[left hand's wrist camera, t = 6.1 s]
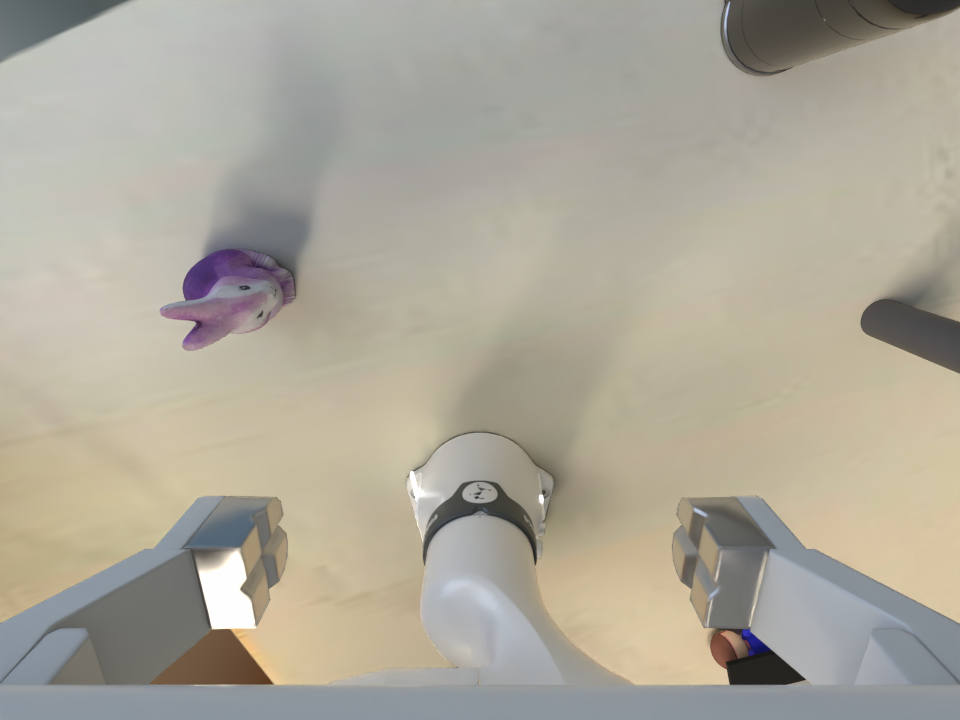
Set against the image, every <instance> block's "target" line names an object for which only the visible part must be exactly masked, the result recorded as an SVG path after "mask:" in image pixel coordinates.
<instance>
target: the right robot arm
mask: <svg viewBox="0 0 960 720" xmlns="http://www.w3.org/2000/svg"><path fill="white" fill-rule="evenodd" d="M725 4H726V5H725V8H724V11H723V16H722V22H721V36H722V42H723V46H724V49H725V51H726V53H727V55H728V57H729V59H730V60H731V61H732V63H733V64H734V65H735V66H736V67H738V68H739V69H740V70H742V71H744V72H746V73H748V74H751V75H756V76H768V75H773V74H777V73H780V72H783V71H785V70H788V69H790V68H792V67H794V66H797V65H800V64H803V63H806V62H809V61H812V60H815V59H818V58H821V57H824V56H827V55H830V54H833V53H836V52H839V51H842V50H845V49H848V48H851V47H854V46H857V45H860V44H863V43H866V42H869V41H872V40H875V39H878V38H881V37H884V36H887V35H890V34H893V33H896V32H899V31H902V30H905V29H908V28H911V27H914V26H917V25H920V24H923V23H926V22H929V21H932V20H935V19H938V18H941V17H943V16H945V15H948V14H950V13H952V12H954V11H956V10H958V9H960V0H725Z"/></svg>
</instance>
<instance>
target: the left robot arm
mask: <svg viewBox="0 0 960 720" xmlns="http://www.w3.org/2000/svg"><path fill="white" fill-rule="evenodd" d="M406 487H407V490H408V494H409V497H410V501H411V504H412V508H413V511H414V514H415V519H416V521H417V525H418V528H419V532H420V535H421V539H422V542H423V561H424V565H425V570H424V577H423V585H422V592H421V599H420V618H421V622H422V626H423V628H424V631H425V633H426V635H427V636H428V638H429V640H430V641H431V643H432V644H433V646H434V647H435V649H436V650H437V651H438V652H439V654H440V655H441V656H442V657H443V658H444V659H446V660H447V661H448V662H450V663H451V664H453V665H454V666H456V668H389V669H384V670H379V671H374V672H369V673H364V674H360V675H356V676H352V677H348V678H344V679H340V680H336V681H332V682H330V683H328V684H327V685H148V684H149V683H150V682H151V681H153V680H154V679H155V678H156V677H157V676H159V675H160V674H161V673H162V672H163V671H164V670H165V669H167V668H168V667H169V666H170V665H171V664H173V663H174V662H175V661H176V660H177V659H178V658H180V657H181V656H182V655H183V654H184V653H185V652H187V651H188V650H189V649H190V648H191V647H193V646H194V645H195V644H196V643H197V642H198V641H200V640H201V639H202V638H203V637H204V636H205V635H207V634H208V633H209V632H210V629H232V628H256V627H257V625H258V623H259V621H260V619H261V617H262V615H263V613H264V611H265V609H266V607H267V605H268V603H269V601H270V595H269V588H271V587H272V586H274V585H275V584H276V583H278V582H279V581H280V578H281V576H282V574H283V572H284V569H285V565H286V560H287V556H288V541H287V534H286V532H285V531H284V530H283V529H282V528H281V527H280V526H279V525H278V524H279V522H280V520H281V518H282V517H283V510H282V505H281V501H280V500H279V499H278V498H277V497H248V496H228V497H227V496H203V497H200V498H198V499H197V500H196V501H195V502H194V503H193V504H192V505H191V507H190V508H189V509H188V510H187V511H186V512H185V514H184V515H183V516H182V517H181V518H180V519H179V520H178V522H177V523H176V524H175V525H174V526H173V527H172V528H171V530H170V531H169V532H168V533H167V534H166V535H165V536H164V538H163V539H162V540H161V541H160V542H159V543H158V544H157V546H156V547H155V548H154V549H145V550H143V551H141V552H139V553H137V554H135V555H133V556H131V557H129V558H127V559H125V560H123V561H121V562H119V563H117V564H115V565H113V566H111V567H109V568H107V569H106V570H104V571H102V572H100V573H98V574H96V575H94V576H92V577H90V578H88V579H86V580H84V581H82V582H80V583H78V584H76V585H74V586H72V587H70V588H68V589H67V590H65V591H63V592H61V593H59V594H57V595H55V596H53V597H51V598H49V599H47V600H45V601H43V602H41V603H39V604H37V605H35V606H33V607H31V608H29V609H27V610H26V611H24V612H22V613H20V614H18V615H16V616H14V617H12V618H10V619H8V620H6V621H4V622H2V623H0V720H960V624H959V623H957V622H956V621H954V620H952V619H950V618H948V617H946V616H944V615H942V614H940V613H938V612H936V611H934V610H932V609H930V608H928V607H926V606H924V605H922V604H920V603H919V602H917V601H915V600H913V599H911V598H909V597H907V596H905V595H903V594H901V593H899V592H897V591H895V590H893V589H891V588H889V587H887V586H885V585H884V584H882V583H880V582H878V581H876V580H874V579H872V578H870V577H868V576H866V575H864V574H862V573H860V572H858V571H856V570H854V569H852V568H850V567H849V566H847V565H845V564H843V563H841V562H839V561H837V560H835V559H833V558H831V557H829V556H827V555H825V554H823V553H821V552H819V551H817V550H815V549H806V548H805V547H804V546H803V544H802V543H801V542H800V541H799V540H798V539H797V538H796V536H795V535H794V534H793V533H792V532H791V531H790V530H789V528H788V527H787V526H786V525H785V524H784V523H783V522H782V520H781V519H780V518H779V517H778V516H777V515H776V514H775V512H774V511H773V510H772V509H771V508H770V507H769V506H768V504H767V503H766V502H765V501H764V500H763V499H762V498H760V497H758V496H732V497H698V498H681V500H680V502H679V504H678V509H677V517H678V518H679V520H680V522H681V524H682V525H681V526H680V527H679V528H678V529H677V530H676V531H675V532H674V534H673V543H672V553H673V562H674V565H675V569H676V572H677V574H678V576H679V578H680V581H681V582H682V583H684V584H685V585H686V586H688V587H689V588H691V595H690V601H691V603H692V605H693V607H694V609H695V611H696V613H697V615H698V617H699V619H700V621H701V623H702V625H703V627H704V628H727V629H750V632H751V633H752V634H754V635H755V636H756V637H757V638H758V639H760V640H761V641H762V642H763V643H764V644H765V645H767V646H768V647H769V648H770V649H771V650H772V651H774V652H775V653H776V654H777V655H778V656H779V657H781V658H782V659H783V660H784V661H785V662H786V663H788V664H789V665H790V666H791V667H792V668H793V669H795V670H796V671H797V672H798V673H799V674H800V675H802V676H803V677H804V678H805V679H806V680H808V681H809V682H810V683H811V684H812V685H634V684H633V683H632V682H631V681H630V680H628V679H626V678H624V677H622V676H620V675H618V674H616V673H614V672H612V671H610V670H609V669H607V668H605V667H604V666H602V665H600V664H599V663H597V662H596V661H595V660H593V659H592V658H591V657H589V656H588V655H587V654H585V653H584V652H583V651H582V650H581V649H580V648H578V647H577V646H576V645H575V644H574V643H573V642H572V641H571V640H570V639H569V638H568V637H567V636H566V635H565V634H564V633H563V631H562V630H561V629H560V628H559V627H558V626H557V624H556V623H555V622H554V620H553V619H552V617H551V616H550V614H549V613H548V611H547V609H546V607H545V605H544V602H543V599H542V595H541V592H540V588H539V584H538V579H537V574H536V569H535V565H536V561H537V559H539V558H541V556H542V550H543V543H542V540H540V539H539V536H543V535H544V532H545V525H544V524H543V521H544V519H545V515H546V511H547V508H548V504H549V501H550V497H551V494H552V490H553V487H554V481H553V477H552V476H551V475H550V474H549V473H547V472H546V471H544V470H542V469H541V468H539V467H537V466H536V465H535V464H534V463H533V462H532V460H531V459H530V458H529V456H528V455H527V454H526V452H525V451H524V450H523V449H522V448H521V447H520V446H518V445H517V444H516V443H514V442H513V441H511V440H509V439H507V438H505V437H502V436H499V435H495V434H490V433H470V434H465V435H461V436H458V437H455V438H453V439H451V440H449V441H447V442H446V443H444V444H443V445H442V446H440V447H439V448H438V449H437V450H436V451H435V452H434V454H433V455H432V456H431V458H430V459H429V460H428V462H427V463H426V464H425V465H424V466H423V467H421V468H419V469H418V470H416V471H414V472H413V471H412V472H411V473H410V475H409V476H408V477H407V482H406ZM542 489H543V490H545V491H543V492H542ZM479 681H480V682H481V685H479Z"/></svg>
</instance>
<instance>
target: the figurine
mask: <svg viewBox="0 0 960 720" xmlns="http://www.w3.org/2000/svg"><path fill="white" fill-rule="evenodd" d="M293 281H294V280H293V277H292V275H291V273H290V272H289V271H288V270H286V269H284V268H281V267H279V266H278V265H277V263H276V261H275V260H274V259H272V258H271V257H270V256H267V255H265V254H261V253H259V252H254V251H250V250H244V249H225V250H220V251H217V252H214V253H212V254H210V255H209V256H207V257H205V258H204V259H202V260H200V261H199V262H198V263H196V264H195V265H194V266H193V267H192V268H191V269H190V270H189V272H188V273H187V275H186V277H185V279H184V283H183V294H184V297H185V299H186V301H181V302H176V303H171V304H168V305H166V306H164V307H162V308H161V309H160V314H161V315H162V316H164V317H166V318H170V319H177V320H190V321H195V322H196V325H195V327H194V328H193V329H192V330H191V331H190V333H189V334H188V335H187V336H186V338H185V339H184V340H183V344H182V347H183V349H185V350H189V351H190V350H198V349H202V348H204V347H207V346H208V345H210V344H213V343H214V342H216V341H219V340H220V339H221V338H222V337H225V336H226V335H228V334H229V333H248V332H251V331H254V330H257V329H259V328H261V327H263V326H264V325H265V324H266V323H267V322H268V320H270V319H271V318H273V317H274V316H275V315H276V314H277V313H278V312H279V310H280V309H281V307H283V306H287V305H289V304H291V303H292V302H293V301H294V299H295V291H294V290H295V289H294V288H295V287H294V282H293Z"/></svg>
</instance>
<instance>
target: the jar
mask: <svg viewBox="0 0 960 720" xmlns="http://www.w3.org/2000/svg"><path fill="white" fill-rule="evenodd" d="M861 327H862V329H863V331H864V332H865V333H866V334H867V335H869V336H872V337H874V338H876V339H879V340H881V341H884V342H886V343H888V344H891V345H893V346H895V347H898V348H900V349H903V350H905V351H907V352H910V353H912V354H914V355H917V356H919V357H922V358H924V359H926V360H929V361H931V362H933V363H936V364H938V365H941V366H943V367H945V368H948V369H950V370H952V371H955V372H957V373H960V322H958V321H955V320H952V319H948V318H945V317H942V316H939V315H936V314H932V313H929V312H926V311H923V310H920V309H917V308H913V307H910V306H907V305H904V304H901V303H897V302H894V301H891V300H880V301H877V302H875V303H873V304H872V305H870V306H869V307H868V308H867V309H866V310H865V312H864V313H863V315H862V318H861Z"/></svg>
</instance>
